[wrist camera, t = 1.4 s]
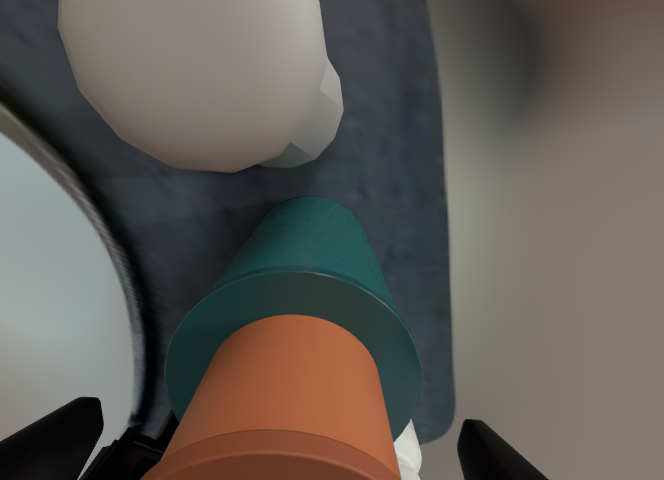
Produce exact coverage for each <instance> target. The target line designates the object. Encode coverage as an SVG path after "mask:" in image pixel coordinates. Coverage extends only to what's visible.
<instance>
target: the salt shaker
mask: <svg viewBox="0 0 664 480" xmlns="http://www.w3.org/2000/svg"><path fill="white" fill-rule="evenodd" d="M58 29H59V32H60V35H61V38H62V41H63V44H64V47H65V50H66V53H67V56H68V59H69V62H70V65H71V67H72V70H73V73H74V76H75V79H76V82H77V85H78V88H79V91H80V92H81V93H82V94H83V95H84V97H85V98H86V99H87V100H88V101H89V103H90V104H91V105H92V106H93V107H94V108H95V110H96V111H97V112H98V113H99V114H100V115H101V117H102V118H103V119H104V120H105V121H106V122H107V124H108V125H109V126H110V127H111V128H112V130H113V131H114V132H115V133H116V134H117V135H118V137H119V138H120V139H122V140H124V141H125V142H127V143H129V144H131V145H132V146H134V147H136V148H138V149H140V150H141V151H143V152H145V153H147V154H149V155H150V156H152V157H154V158H156V159H157V160H159V161H161V162H163V163H165V164H166V165H168V166H170V167H174V168H180V169H187V170H201V171H215V172H229V173H235V172H238V171H240V170H243V169H245V168H248V167H250V166H253V165H256V164H260V165H261V166H263V167H274V168H290V169H291V168H294V167H296V166H299V165H302V164H304V163H307V162H310V161H313V160H315V159H317V158H318V156H319V155H320V154H321V153H322V152H323V151H324V149H325V148H326V147H327V146H328V145H329V144H330V143H331V141H332V140H333V139H334V138H335V135H336V132H337V129H338V126H339V123H340V119H341V116H342V113H343V110H344V109H343V101H342V94H341V86H340V79H339V77H338V75H337V73H336V72H335V70H334V68H333V67H332V65H331V63H330V61H329V60H328V58H327V54H326V47H325V40H324V33H323V26H322V19H321V12H320V5H319V0H59V10H58Z"/></svg>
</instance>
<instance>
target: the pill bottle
mask: <svg viewBox="0 0 664 480" xmlns="http://www.w3.org/2000/svg"><path fill="white" fill-rule="evenodd" d="M394 447H395V452H396V456H397V461H398V465H399V470H400V475H401V479H402V480H420V478H419V476H418V472H419V470H420V467H421V460H422V458H421V451H420V447H419V444H418V440H417V437H416V433H415V430H414V427H413V423H412V420H410V422H409V424H408V425H407V427H406V428H405V430H404V431H403V433H402V434H401V435H400V436H399V437H398V438H397V439H396V441H395V442H394Z"/></svg>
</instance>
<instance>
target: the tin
mask: <svg viewBox="0 0 664 480" xmlns="http://www.w3.org/2000/svg"><path fill="white" fill-rule="evenodd" d="M288 314H289V315H306V316H313V317H316V318H320V319H324V320H327V321H329V322H332V323H334V324H336V325H338V326H340V327H342V328H344V329H345V330H347V331H348V332H350V333H351V334H352V335H354V336H355V337H356V338H357V339H358V340H359V341H360V342H361V343H362V344H363V345H364V346H365V347H366V349H367V350H368V351H369V353H370V355H371V356H372V358H373V360H374V362H375V365H376V367H377V370H378V374H379V379H380V383H381V388H382V393H383V397H384V402H385V406H386V411H387V415H388V420H389V424H390V429H391V434H392V438H393V443H394V442H395V441H396V439H397V438H398V437H399V436H400V435H401V434H402V433H403V431H404V430H405V428H406V427H407V425H408V424H409V422H410V420H411V418H412V416H413V414H414V412H415V410H416V407H417V403H418V400H419V397H420V390H421V383H422V376H421V364H420V358H419V354H418V351H417V348H416V345H415V342H414V340H413V337H412V335H411V333H410V331H409V329H408V328H407V326H406V324H405V322H404V321H403V319H402V318H401V317H400V315H399V313H398V310H397V308H396V306H395V303H394V301H393V298H392V296H391V293H390V291H389V288H388V286H387V283H386V281H385V279H384V276H383V274H382V271H381V269H380V266H379V264H378V261H377V259H376V257H375V254H374V252H373V249H372V247H371V244H370V242H369V239H368V237H367V235H366V232H365V230H364V228H363V226H362V224H361V223H360V221H359V220H358V218H357V217H356V216H355V215H354V214H353V213H352V212H351V211H350V210H348V209H347V208H346V207H344V206H343V205H341V204H340V203H338V202H335V201H333V200H330V199H327V198H323V197H317V196H304V197H298V198H293V199H290V200H288V201H285V202H283V203H281V204H280V205H278V206H276V207H275V208H274V209H272V210H271V211H270V212H269V213H268V214H267V215H266V216H265V218H264V219H263V220H262V221H261V223H260V224H259V225H258V227H257V228H256V229H255V231H254V232H253V233H252V235H251V236H250V237H249V239H248V240H247V241H246V243H245V244H244V245H243V247H242V248H241V249H240V251H239V252H238V253H237V255H236V256H235V257H234V258H233V260H232V261H231V262H230V264H229V265H228V266H227V268H226V269H225V270H224V272H223V273H222V274H221V276H220V277H219V278H218V280H217V281H216V282H215V284H214V285H213V286H212V288H211V289H210V290H209V292H208V293H206V294H205V295H204V296H203V297H202V298H201V299H200V300H199V301H198V302H197V303H196V304H194V305H193V307H192V308H191V309H190V311H189V312H188V313H187V314H186V316H185V317H184V318H183V320H182V321H181V322H180V323H179V325H178V327H177V329H176V331H175V332H174V334H173V336H172V338H171V341H170V344H169V347H168V350H167V354H166V360H165V372H164V380H165V387H166V393H167V396H168V400H169V403H170V406H171V408H172V410H173V412H174V414H175V416H176V418H177V420H178V421H179V423H180V421H181V419H182V417H183V415H184V414H185V412H186V410H187V408H188V406H189V404H190V402H191V400H192V398H193V396H194V394H195V392H196V390H197V388H198V386H199V384H200V382H201V380H202V378H203V376H204V374H205V372H206V370H207V368H208V366H209V365H210V363H211V361H212V359H213V357H214V355H215V353H216V352H217V350H218V349H219V347H220V346H221V345H222V344H223V343H224V341H225V340H226V339H228V338H229V337H230V336H231V335H232V334H233V333H235V332H236V331H238V330H239V329H241V328H242V327H244V326H246V325H248V324H250V323H252V322H255V321H257V320H260V319H263V318H267V317H272V316H277V315H288Z"/></svg>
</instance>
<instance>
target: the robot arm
mask: <svg viewBox="0 0 664 480" xmlns="http://www.w3.org/2000/svg"><path fill="white" fill-rule="evenodd" d="M178 425H179V421H178V420H177V418H176V416H175V414H174V412H173V410H172V409H171V411H170V413H169V415H168V417H167V418H166V420H165V422H164V424H163V425H162V427H161V429H160V431H159V432H158V434H157V436H156V438H155V439H153V438H151V437H148V436H145V435H143V434H140V433H138V432H139V431H138V430H136V429H133V428H131V427H128V429H127V430H126V431H125V432H124V434H123V435H122V436H121V438H120V439H119V440H116V439H115V440H114V441H113V443H112V444H111V445H110V446H106V447H103V448H102V449H101V450H100V452H99V453H98V454H97V456H96V457H95V459H94V460H93V461H92V463H91V464H90V466H89V467H88V468H87V470H86V471H85V472H84V474H83V475H82V476H81V478H80V479H79V480H140V479H141V478H142V477H143V476H144V475H145V473H146V472H148V471H149V470H150V469H151V468H152V467H154V466H155V465H156V464H157V463H158V462H160V461H161V459H162V457H163V455H164V453H165V451H166V449H167V447H168V445H169V443H170V441H171V439H172V437H173V435H174V433H175V431H176V429H177V427H178ZM103 426H104V422H103V416H102V409H101V402H100V400H99V399H98V398H96V397H79V398H77V399H75V400H73V401H71V402H70V403H68V404H66V405H64V406H62V407H61V408H59V409H57V410H55V411H54V412H52V413H50V414H48V415H46V416H45V417H43V418H41V419H39V420H38V421H36V422H34V423H32V424H30V425H29V426H27V427H25V428H23V429H22V430H20V431H18V432H16V433H15V434H13V435H11V436H9V437H8V438H6V439H4V440H2V441H0V480H77V479H78V477H79V475H80V473H81V471H82V469H83V467H84V466H85V464H86V462H87V460H88V458H89V456H90V455H91V453H92V451H93V449H94V447H95V445H96V443H97V441H98V440H99V437H100V436H101V434H102V430H103ZM457 451H458V456H459V460H460V463H461V468H462V471H463V475H464V479H465V480H549V479H547V478H546V477H545V476H544V475H543V474H542V473H541V472H540V471H538V470H537V469H536V468H535V467H534V466H533V465H532V464H530V463H529V462H528V461H527V460H526V459H525V458H524V457H523V456H522V455H520V454H519V453H518V452H517V451H516V450H515V449H514V448H513V447H511V446H510V445H509V444H508V443H507V442H506V441H504V439H502V438H501V437H500V436H499V435H498V434H497V433H496V432H494V431H493V430H492V429H491V428H490V427H489V426H488V425H487V424H485V423H484V422H483V421H481V420H474V419H466V420H465V421H464V422H463V424H462V428H461V432H460V435H459V439H458V443H457Z"/></svg>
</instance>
